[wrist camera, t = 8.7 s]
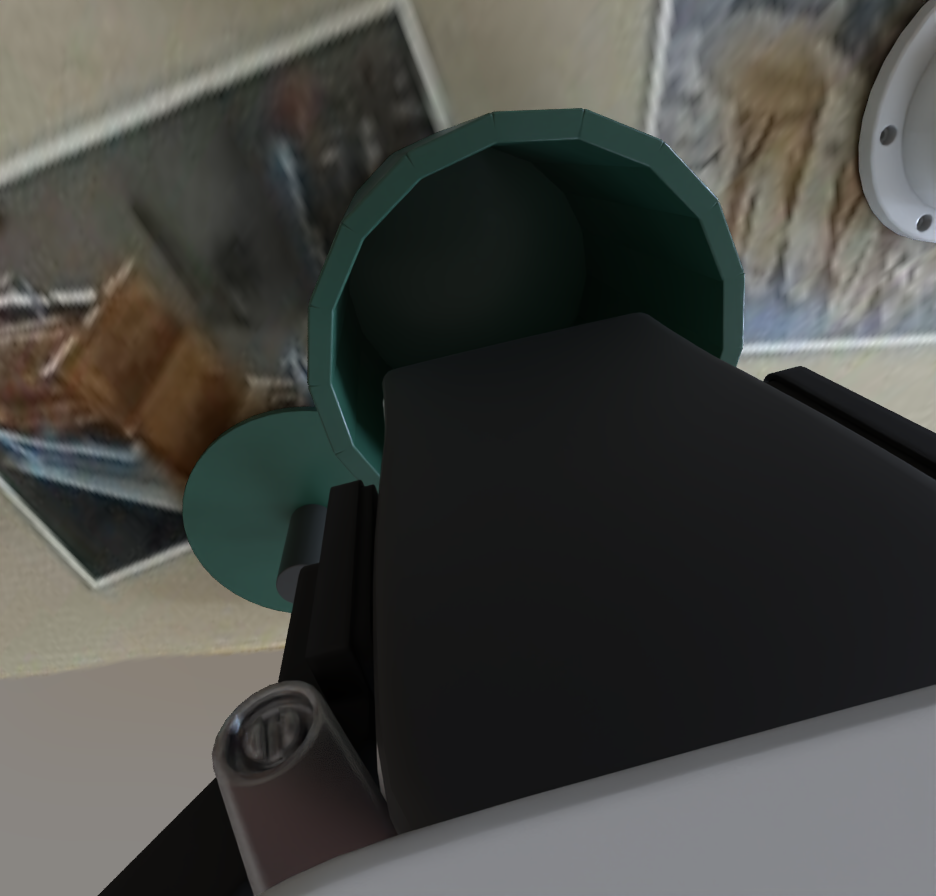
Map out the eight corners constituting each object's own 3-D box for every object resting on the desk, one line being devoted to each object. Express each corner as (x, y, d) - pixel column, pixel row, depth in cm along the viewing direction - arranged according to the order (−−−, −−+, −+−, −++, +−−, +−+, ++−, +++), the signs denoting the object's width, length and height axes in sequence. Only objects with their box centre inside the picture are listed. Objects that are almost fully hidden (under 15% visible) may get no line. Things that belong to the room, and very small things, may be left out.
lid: (397, 373, 31) (403, 424, 25) (455, 568, 38) (470, 645, 32) (141, 439, 30) (85, 508, 24) (247, 625, 37) (223, 713, 31)
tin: (578, 97, 26) (750, 47, 14) (606, 368, 32) (740, 491, 21) (295, 167, 26) (226, 178, 14) (380, 427, 32) (384, 587, 20)
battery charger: (407, 498, 15) (460, 1166, 5) (369, 368, 13) (335, 1011, 3) (657, 438, 15) (1172, 972, 5) (652, 302, 14) (1420, 724, 4)
